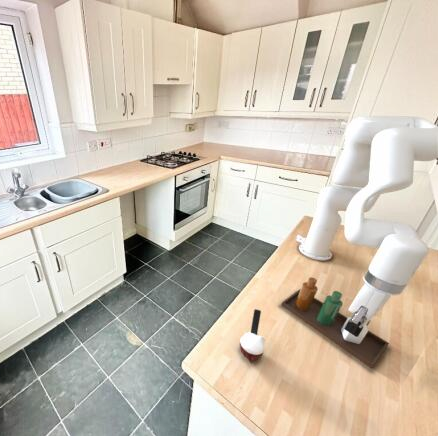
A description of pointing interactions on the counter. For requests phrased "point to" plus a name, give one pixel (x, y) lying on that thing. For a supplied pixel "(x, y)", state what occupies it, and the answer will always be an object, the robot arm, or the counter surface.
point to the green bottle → (330, 309)
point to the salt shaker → (351, 337)
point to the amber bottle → (306, 294)
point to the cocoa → (253, 340)
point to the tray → (339, 332)
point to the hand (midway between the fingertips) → (356, 326)
